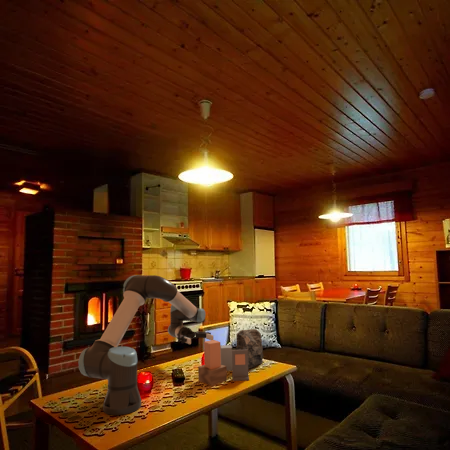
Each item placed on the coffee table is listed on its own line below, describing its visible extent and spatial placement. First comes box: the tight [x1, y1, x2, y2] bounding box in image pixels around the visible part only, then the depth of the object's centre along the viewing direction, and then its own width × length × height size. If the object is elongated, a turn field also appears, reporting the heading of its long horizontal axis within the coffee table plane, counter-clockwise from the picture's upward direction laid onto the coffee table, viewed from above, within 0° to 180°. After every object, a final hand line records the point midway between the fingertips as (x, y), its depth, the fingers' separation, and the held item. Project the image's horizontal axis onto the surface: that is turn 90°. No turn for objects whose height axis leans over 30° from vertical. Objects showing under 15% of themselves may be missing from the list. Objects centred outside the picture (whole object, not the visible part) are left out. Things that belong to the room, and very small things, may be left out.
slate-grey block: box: [220, 344, 233, 372], centre depth 190 cm, size 6×6×12 cm
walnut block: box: [197, 364, 228, 386], centre depth 172 cm, size 10×10×7 cm
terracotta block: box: [203, 339, 221, 369], centre depth 173 cm, size 6×6×12 cm
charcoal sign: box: [231, 349, 250, 382], centre depth 173 cm, size 8×4×14 cm, turn 93°
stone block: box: [235, 328, 264, 369], centre depth 195 cm, size 18×9×20 cm, turn 130°
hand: (201, 339), depth 182 cm, fingers open, 13 cm apart
